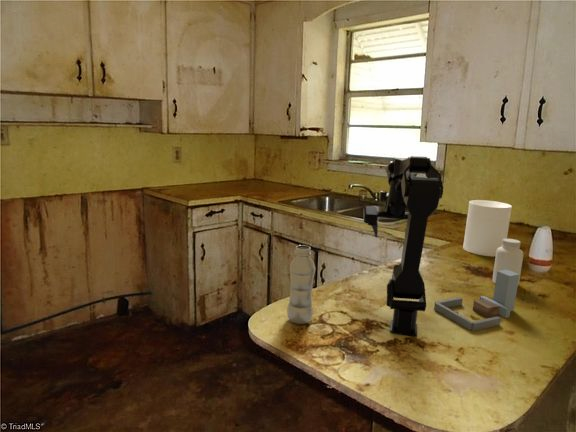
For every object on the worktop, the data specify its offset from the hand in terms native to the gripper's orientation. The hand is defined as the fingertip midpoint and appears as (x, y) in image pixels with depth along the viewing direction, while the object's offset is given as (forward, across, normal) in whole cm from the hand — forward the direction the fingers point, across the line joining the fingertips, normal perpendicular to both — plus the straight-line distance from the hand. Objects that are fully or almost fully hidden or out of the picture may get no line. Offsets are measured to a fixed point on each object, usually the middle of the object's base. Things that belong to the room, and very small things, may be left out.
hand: (390, 237), depth 135 cm
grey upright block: (+8, -30, +20) cm, 37 cm away
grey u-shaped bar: (+5, -18, +26) cm, 32 cm away
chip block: (+7, -25, +23) cm, 34 cm away
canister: (+32, -46, -35) cm, 66 cm away
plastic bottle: (+2, +26, +35) cm, 44 cm away
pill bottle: (+17, -40, 0) cm, 43 cm away
